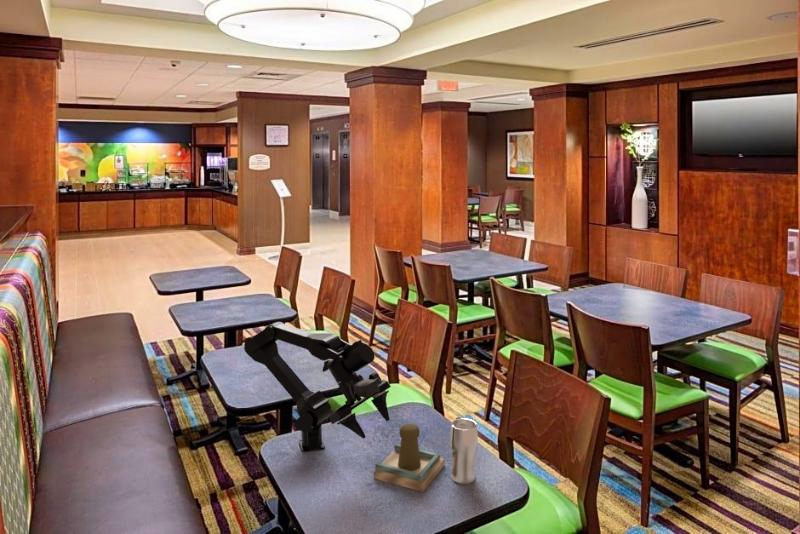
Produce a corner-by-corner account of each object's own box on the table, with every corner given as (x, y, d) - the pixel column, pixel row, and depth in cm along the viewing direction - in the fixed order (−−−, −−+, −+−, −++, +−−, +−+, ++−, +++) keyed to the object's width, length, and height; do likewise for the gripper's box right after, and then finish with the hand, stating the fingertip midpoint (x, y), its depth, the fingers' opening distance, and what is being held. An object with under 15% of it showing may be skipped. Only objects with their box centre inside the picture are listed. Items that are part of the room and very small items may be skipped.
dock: (373, 478, 153) (373, 465, 153) (397, 453, 166) (397, 441, 165) (423, 492, 147) (423, 479, 147) (444, 465, 160) (444, 453, 159)
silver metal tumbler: (461, 467, 159) (462, 415, 156) (482, 477, 154) (483, 424, 151) (443, 477, 154) (444, 424, 151) (464, 488, 149) (466, 433, 146)
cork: (424, 468, 154) (424, 429, 152) (402, 472, 152) (402, 433, 150) (415, 457, 160) (416, 419, 158) (394, 461, 158) (394, 422, 156)
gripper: (335, 384, 147) (367, 440, 145) (385, 353, 160) (416, 404, 158) (315, 397, 155) (345, 450, 153) (365, 367, 168) (393, 415, 166)
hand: (376, 429), depth 158 cm, fingers open, 9 cm apart
